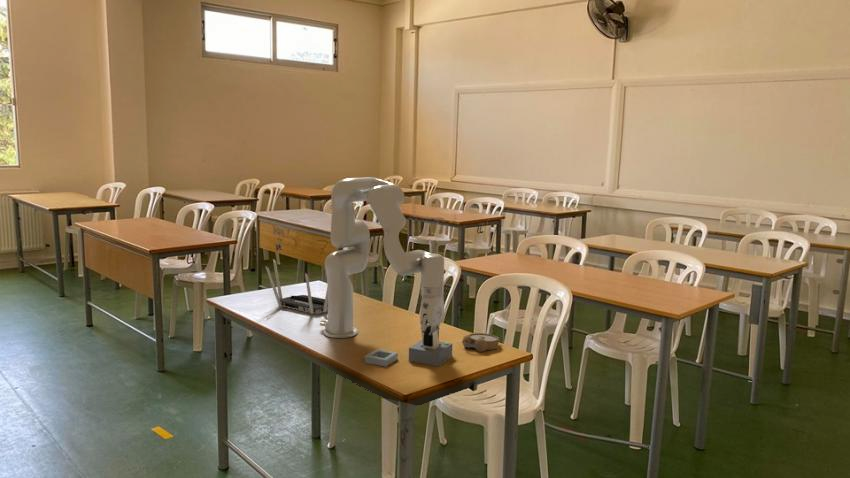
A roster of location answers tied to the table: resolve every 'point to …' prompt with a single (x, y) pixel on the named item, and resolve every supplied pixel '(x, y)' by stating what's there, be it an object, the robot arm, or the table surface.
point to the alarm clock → (481, 341)
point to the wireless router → (299, 297)
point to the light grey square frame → (381, 357)
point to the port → (430, 353)
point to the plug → (435, 338)
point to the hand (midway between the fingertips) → (431, 343)
